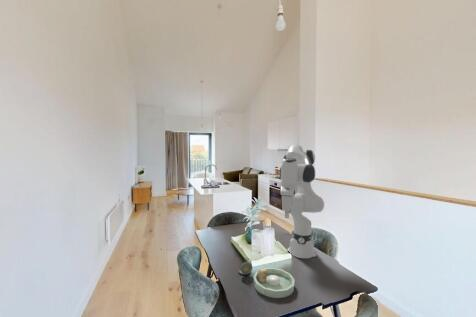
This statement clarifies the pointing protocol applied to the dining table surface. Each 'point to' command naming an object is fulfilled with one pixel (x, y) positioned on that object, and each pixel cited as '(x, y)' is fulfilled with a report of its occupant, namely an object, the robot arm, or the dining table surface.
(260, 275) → the bead
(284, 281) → the groove tray
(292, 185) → the robot arm
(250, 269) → the pocket watch
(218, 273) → the dining table surface
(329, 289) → the dining table surface
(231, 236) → the dining table surface
